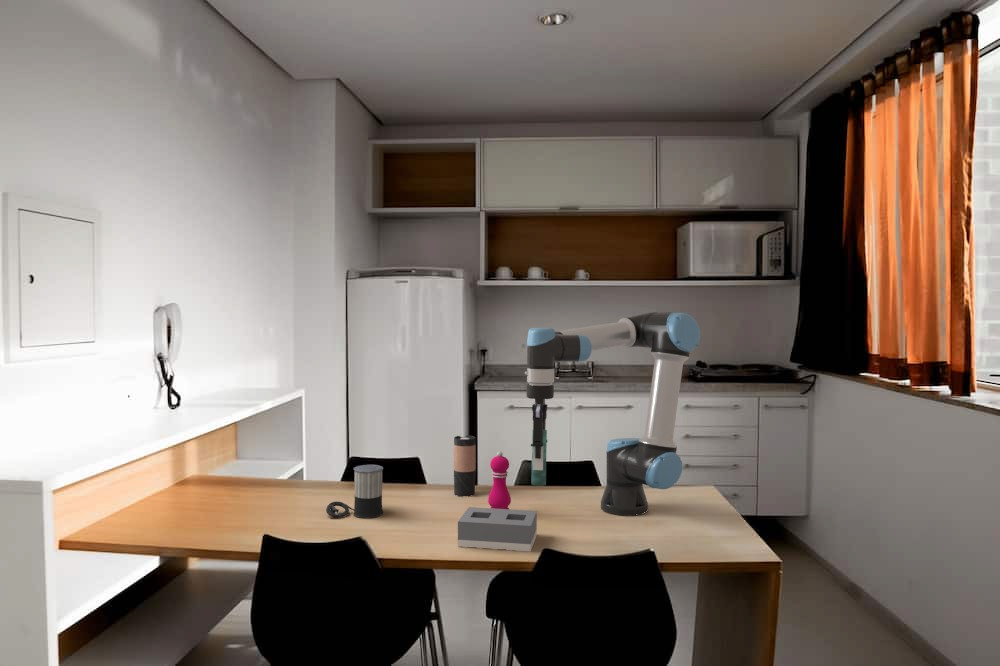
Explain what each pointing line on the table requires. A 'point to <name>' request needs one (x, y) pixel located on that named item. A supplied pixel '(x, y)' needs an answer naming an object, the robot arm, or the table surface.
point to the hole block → (498, 529)
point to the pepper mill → (499, 483)
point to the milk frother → (363, 494)
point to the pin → (540, 475)
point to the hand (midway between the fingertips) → (538, 467)
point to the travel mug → (464, 465)
